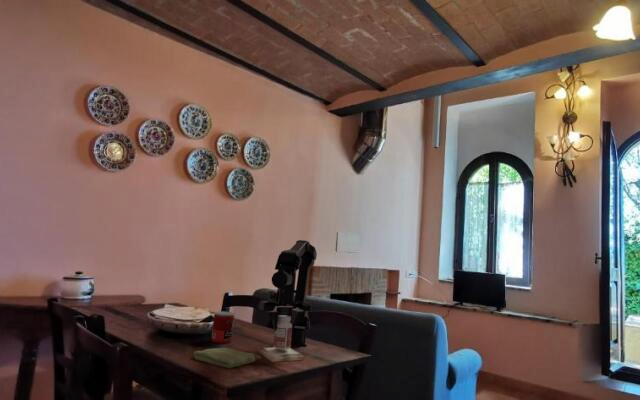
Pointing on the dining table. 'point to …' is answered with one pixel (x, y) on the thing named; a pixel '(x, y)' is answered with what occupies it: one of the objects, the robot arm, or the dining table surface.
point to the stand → (280, 354)
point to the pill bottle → (283, 333)
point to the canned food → (223, 327)
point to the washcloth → (224, 357)
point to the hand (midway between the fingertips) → (283, 330)
